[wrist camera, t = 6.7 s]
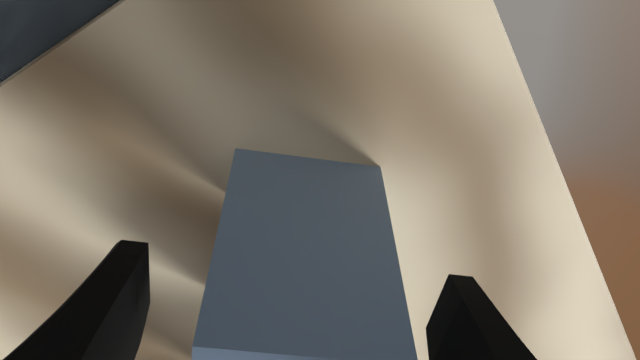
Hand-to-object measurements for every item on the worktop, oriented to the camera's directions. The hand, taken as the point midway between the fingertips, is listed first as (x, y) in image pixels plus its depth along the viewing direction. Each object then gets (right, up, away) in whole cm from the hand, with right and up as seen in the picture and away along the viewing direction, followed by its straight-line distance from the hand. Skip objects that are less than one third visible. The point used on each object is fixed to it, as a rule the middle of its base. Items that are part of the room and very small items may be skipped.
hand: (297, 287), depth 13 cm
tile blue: (0, +3, +4) cm, 4 cm away
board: (0, -3, +9) cm, 9 cm away
